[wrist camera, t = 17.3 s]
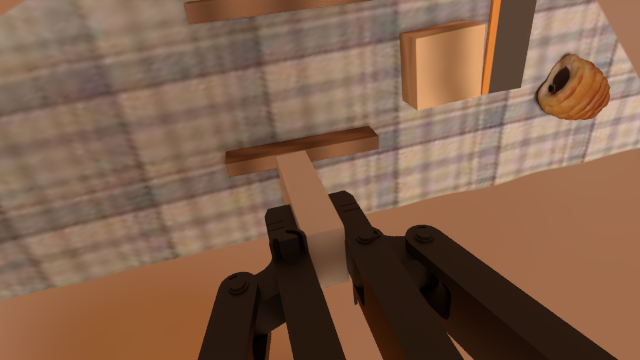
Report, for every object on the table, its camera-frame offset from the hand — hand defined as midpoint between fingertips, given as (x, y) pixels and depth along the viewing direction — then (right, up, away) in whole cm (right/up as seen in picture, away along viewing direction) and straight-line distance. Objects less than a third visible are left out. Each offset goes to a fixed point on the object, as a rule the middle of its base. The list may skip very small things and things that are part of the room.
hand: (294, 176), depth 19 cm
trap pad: (+22, +15, +21) cm, 34 cm away
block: (+13, +13, +20) cm, 27 cm away
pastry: (+31, +11, +26) cm, 42 cm away
